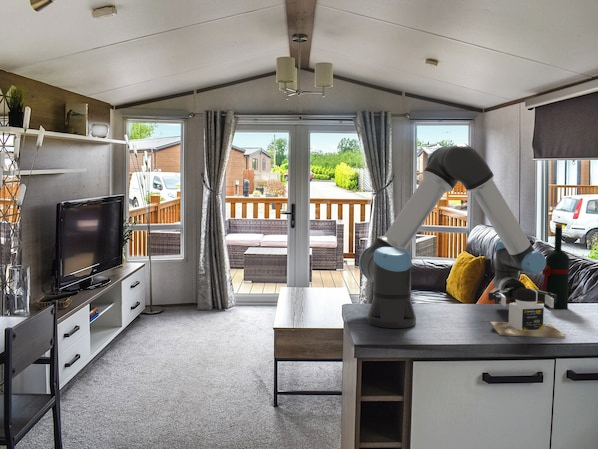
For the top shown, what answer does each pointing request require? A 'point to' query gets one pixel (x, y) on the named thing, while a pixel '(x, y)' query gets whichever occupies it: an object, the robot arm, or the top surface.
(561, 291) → the wine bottle
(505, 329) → the cork mat
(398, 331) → the top surface
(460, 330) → the top surface
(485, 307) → the top surface
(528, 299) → the medicine bottle
